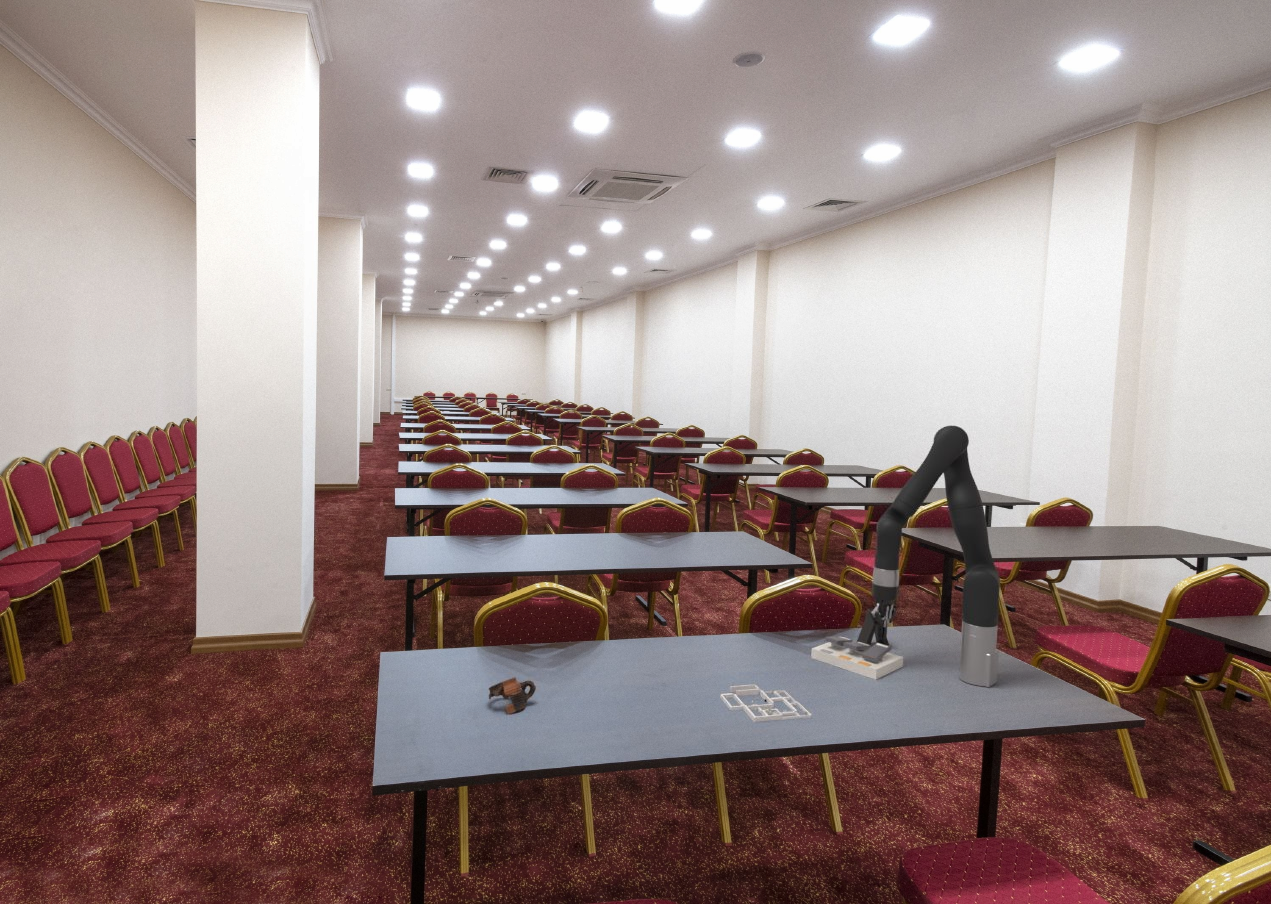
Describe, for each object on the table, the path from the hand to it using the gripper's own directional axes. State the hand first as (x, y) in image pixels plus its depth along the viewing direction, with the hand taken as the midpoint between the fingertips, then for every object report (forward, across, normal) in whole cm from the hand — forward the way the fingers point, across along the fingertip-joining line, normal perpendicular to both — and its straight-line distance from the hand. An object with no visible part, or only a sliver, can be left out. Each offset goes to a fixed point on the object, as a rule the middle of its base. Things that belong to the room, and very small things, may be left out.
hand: (881, 637), depth 212 cm
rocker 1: (+4, -4, +13) cm, 14 cm away
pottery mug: (+10, -102, +46) cm, 113 cm away
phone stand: (+9, +14, +10) cm, 19 cm away
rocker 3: (+4, -4, 0) cm, 5 cm away
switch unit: (+9, -4, +6) cm, 11 cm away
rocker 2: (+4, -4, +6) cm, 8 cm away
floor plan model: (+10, -54, +7) cm, 55 cm away
